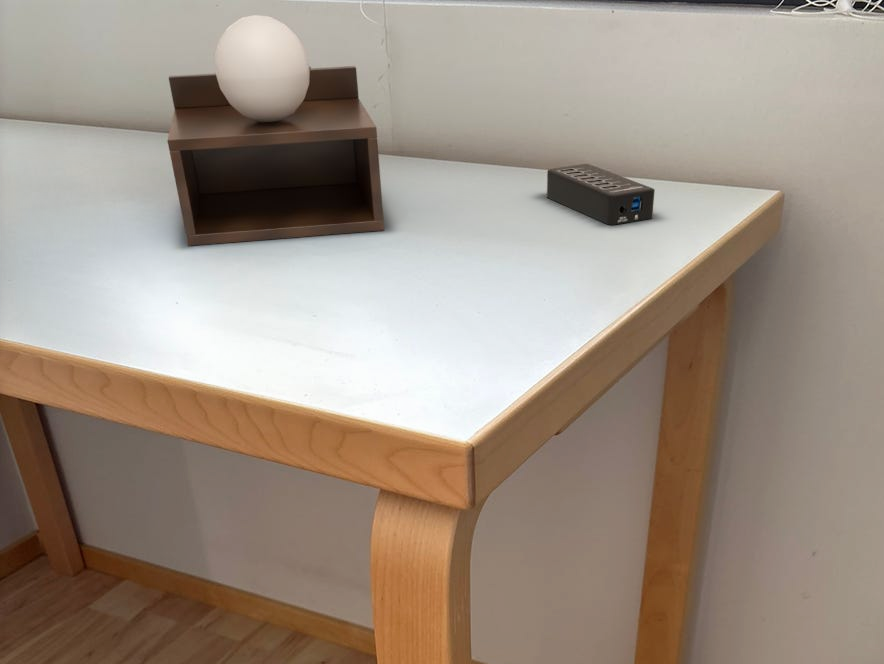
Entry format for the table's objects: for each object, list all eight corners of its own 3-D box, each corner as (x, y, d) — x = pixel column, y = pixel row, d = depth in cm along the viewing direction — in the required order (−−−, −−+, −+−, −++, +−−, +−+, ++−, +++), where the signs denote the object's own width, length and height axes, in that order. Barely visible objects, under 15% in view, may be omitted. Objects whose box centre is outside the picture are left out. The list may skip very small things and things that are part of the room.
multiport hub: (586, 190, 91) (587, 162, 90) (654, 218, 83) (657, 188, 82) (545, 196, 90) (545, 168, 88) (610, 225, 82) (611, 196, 80)
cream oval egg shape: (327, 125, 78) (316, 16, 74) (234, 134, 76) (217, 23, 71) (294, 104, 86) (282, 4, 81) (208, 113, 83) (191, 10, 79)
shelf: (188, 245, 80) (160, 104, 74) (192, 202, 91) (168, 75, 84) (384, 230, 82) (373, 91, 76) (365, 189, 93) (355, 65, 87)
